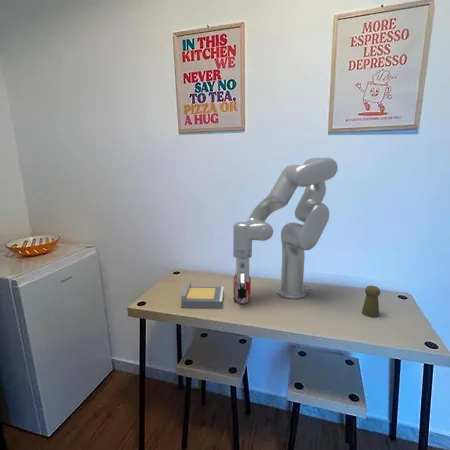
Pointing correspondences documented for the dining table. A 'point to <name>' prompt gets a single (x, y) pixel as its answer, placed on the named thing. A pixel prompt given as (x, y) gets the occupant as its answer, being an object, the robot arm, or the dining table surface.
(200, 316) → the dining table surface
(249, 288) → the soda can
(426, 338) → the dining table surface
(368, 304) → the cork
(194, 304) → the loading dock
